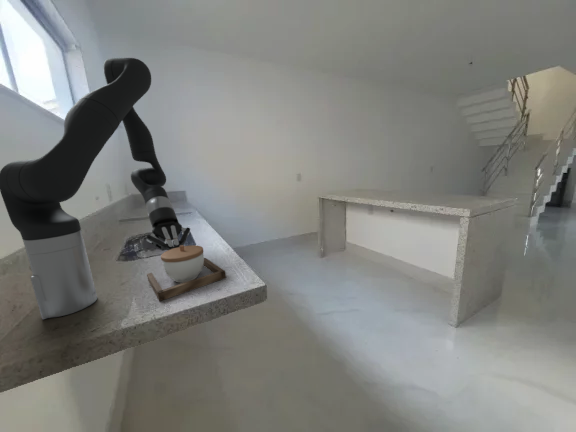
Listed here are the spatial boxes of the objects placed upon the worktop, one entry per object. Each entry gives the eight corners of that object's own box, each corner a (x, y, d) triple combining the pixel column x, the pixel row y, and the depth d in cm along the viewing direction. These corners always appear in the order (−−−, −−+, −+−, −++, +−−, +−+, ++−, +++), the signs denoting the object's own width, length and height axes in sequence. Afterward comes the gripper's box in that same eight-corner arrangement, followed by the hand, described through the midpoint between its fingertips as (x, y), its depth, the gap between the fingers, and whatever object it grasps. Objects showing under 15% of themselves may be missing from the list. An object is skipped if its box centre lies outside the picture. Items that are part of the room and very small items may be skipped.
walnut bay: (159, 301, 54) (157, 293, 54) (148, 280, 66) (146, 273, 66) (226, 277, 64) (225, 271, 64) (205, 263, 76) (205, 257, 76)
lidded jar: (212, 269, 71) (208, 239, 69) (196, 286, 61) (191, 251, 59) (178, 270, 72) (173, 240, 70) (156, 287, 61) (150, 253, 60)
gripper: (137, 209, 70) (152, 258, 63) (184, 203, 78) (202, 246, 71) (138, 224, 75) (152, 271, 68) (181, 217, 83) (198, 258, 76)
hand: (177, 258), depth 70 cm, fingers closed
